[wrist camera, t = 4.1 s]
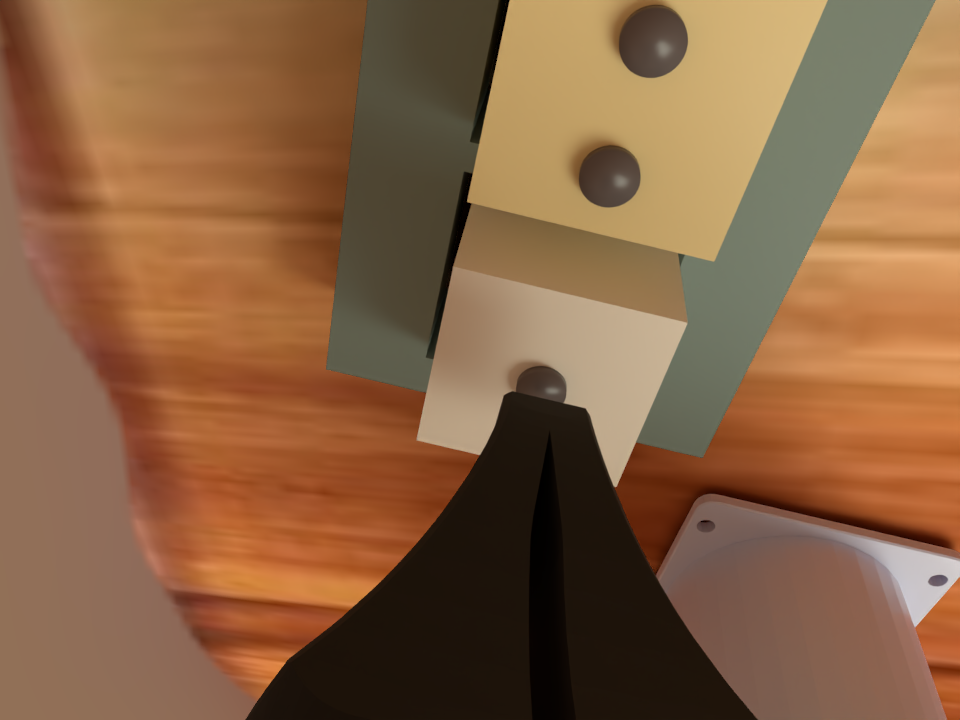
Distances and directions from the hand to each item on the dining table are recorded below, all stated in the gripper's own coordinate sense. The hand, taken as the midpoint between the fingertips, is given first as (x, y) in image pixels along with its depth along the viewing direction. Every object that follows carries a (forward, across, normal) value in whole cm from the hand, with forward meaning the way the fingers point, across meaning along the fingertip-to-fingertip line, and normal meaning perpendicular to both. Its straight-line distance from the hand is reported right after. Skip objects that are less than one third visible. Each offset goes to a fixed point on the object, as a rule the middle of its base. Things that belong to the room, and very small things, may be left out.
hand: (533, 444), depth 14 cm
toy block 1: (+6, 0, -5) cm, 8 cm away
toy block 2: (+6, 0, 0) cm, 6 cm away
